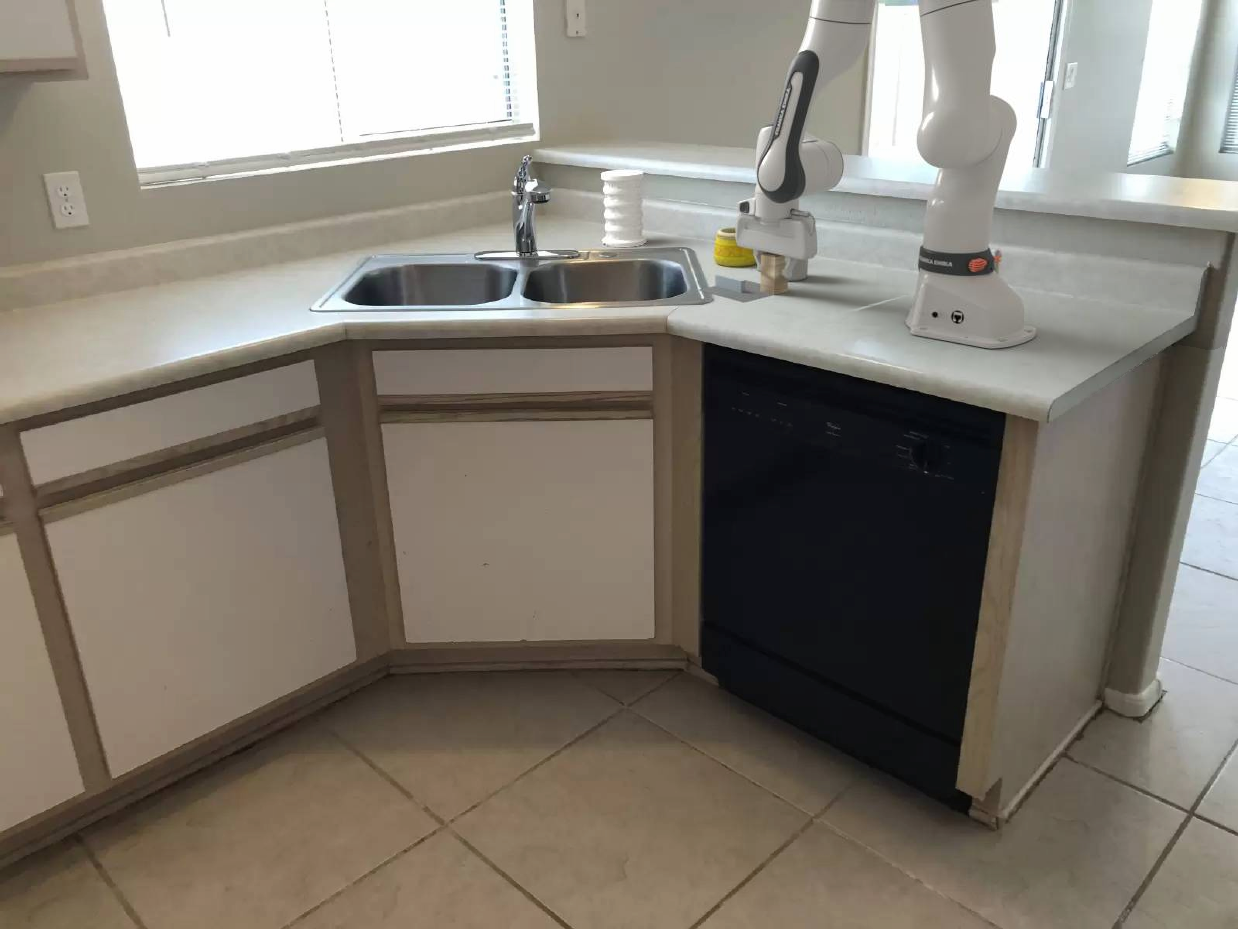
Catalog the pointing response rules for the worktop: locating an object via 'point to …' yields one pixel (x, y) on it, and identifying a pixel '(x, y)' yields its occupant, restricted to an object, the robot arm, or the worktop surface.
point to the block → (772, 274)
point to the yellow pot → (731, 250)
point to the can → (799, 270)
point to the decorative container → (623, 207)
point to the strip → (730, 283)
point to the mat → (750, 292)
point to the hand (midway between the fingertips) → (774, 274)
